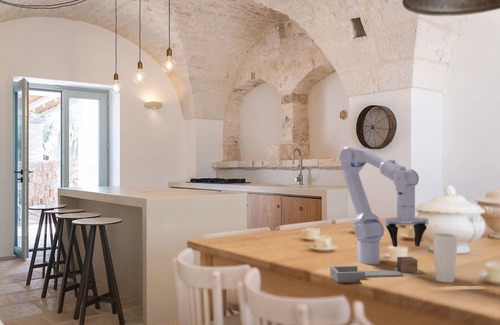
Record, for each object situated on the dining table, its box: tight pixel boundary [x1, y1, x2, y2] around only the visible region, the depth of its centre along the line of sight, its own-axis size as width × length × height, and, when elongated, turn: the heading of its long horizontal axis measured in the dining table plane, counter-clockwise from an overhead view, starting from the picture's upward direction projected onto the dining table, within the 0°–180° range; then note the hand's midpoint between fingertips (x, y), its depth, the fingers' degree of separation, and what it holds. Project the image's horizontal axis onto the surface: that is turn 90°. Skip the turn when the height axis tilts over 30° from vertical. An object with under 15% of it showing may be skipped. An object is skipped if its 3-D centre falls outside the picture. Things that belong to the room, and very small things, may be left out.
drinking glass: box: [432, 232, 458, 283], centre depth 147 cm, size 7×7×15 cm
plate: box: [393, 267, 421, 274], centre depth 161 cm, size 7×7×1 cm
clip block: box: [396, 256, 418, 272], centre depth 160 cm, size 5×5×4 cm
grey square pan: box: [329, 265, 404, 283], centre depth 155 cm, size 9×22×3 cm, turn 95°
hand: (406, 246), depth 159 cm, fingers open, 7 cm apart
